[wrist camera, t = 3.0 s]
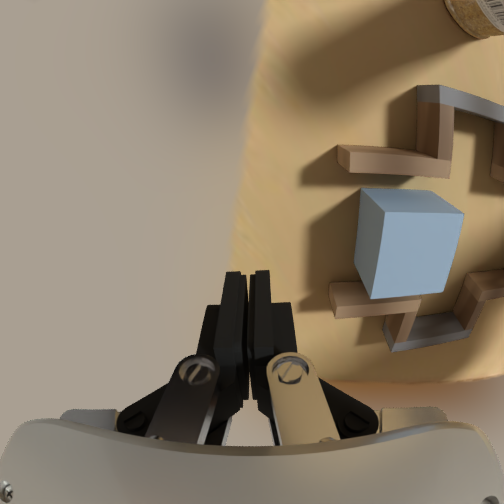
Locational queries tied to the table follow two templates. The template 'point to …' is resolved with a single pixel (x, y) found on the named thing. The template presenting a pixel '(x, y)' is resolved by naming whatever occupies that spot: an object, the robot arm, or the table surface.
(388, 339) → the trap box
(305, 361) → the robot arm
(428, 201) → the slate block
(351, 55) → the table surface
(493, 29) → the sprinkles bottle
